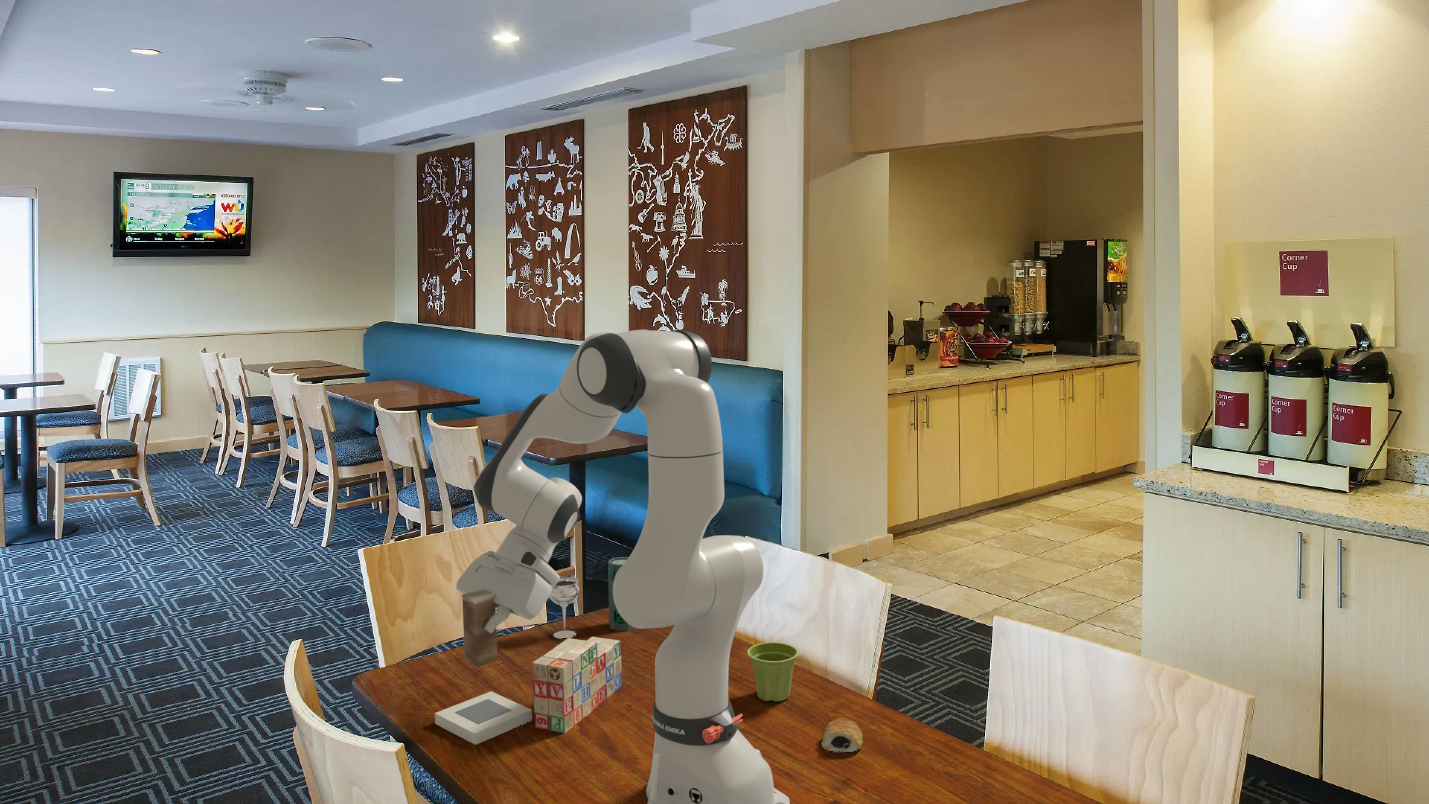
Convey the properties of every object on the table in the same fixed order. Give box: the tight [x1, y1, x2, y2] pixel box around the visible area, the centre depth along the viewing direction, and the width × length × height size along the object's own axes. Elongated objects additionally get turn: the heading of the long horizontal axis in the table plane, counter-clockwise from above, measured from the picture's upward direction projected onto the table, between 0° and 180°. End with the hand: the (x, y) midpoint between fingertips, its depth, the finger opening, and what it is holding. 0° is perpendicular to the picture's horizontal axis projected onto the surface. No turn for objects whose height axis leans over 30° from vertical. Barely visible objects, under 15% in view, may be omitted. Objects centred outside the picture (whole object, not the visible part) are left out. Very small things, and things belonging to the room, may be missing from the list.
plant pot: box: [747, 641, 799, 703], centre depth 187 cm, size 9×9×9 cm
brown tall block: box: [461, 589, 498, 668], centre depth 176 cm, size 4×4×12 cm
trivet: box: [434, 690, 533, 746], centre depth 178 cm, size 12×12×2 cm
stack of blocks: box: [532, 636, 623, 734], centre depth 183 cm, size 21×6×12 cm, turn 158°
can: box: [607, 556, 636, 632], centre depth 224 cm, size 6×6×15 cm
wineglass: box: [549, 576, 580, 640], centre depth 219 cm, size 7×7×12 cm
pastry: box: [821, 717, 864, 753], centre depth 170 cm, size 9×7×4 cm
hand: (476, 626), depth 175 cm, fingers closed on brown tall block, 4 cm apart
